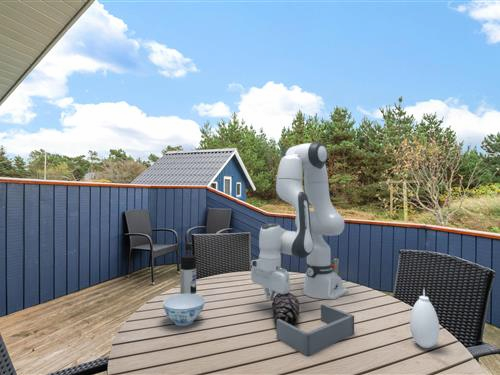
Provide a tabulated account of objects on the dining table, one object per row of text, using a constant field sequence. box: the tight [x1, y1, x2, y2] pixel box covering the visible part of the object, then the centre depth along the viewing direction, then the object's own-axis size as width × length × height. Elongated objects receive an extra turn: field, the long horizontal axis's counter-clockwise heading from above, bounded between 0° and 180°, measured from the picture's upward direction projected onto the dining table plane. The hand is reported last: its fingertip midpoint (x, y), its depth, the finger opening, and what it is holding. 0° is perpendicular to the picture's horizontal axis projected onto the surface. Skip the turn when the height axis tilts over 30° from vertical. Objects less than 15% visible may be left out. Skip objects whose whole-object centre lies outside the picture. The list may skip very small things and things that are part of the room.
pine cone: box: [271, 291, 300, 328], centre depth 107 cm, size 10×18×10 cm, turn 179°
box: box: [276, 303, 355, 357], centre depth 97 cm, size 23×13×6 cm, turn 127°
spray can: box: [179, 254, 197, 294], centre depth 125 cm, size 7×7×20 cm
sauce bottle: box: [409, 288, 440, 349], centre depth 91 cm, size 8×8×18 cm
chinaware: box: [162, 293, 206, 327], centre depth 107 cm, size 15×15×8 cm
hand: (269, 299), depth 116 cm, fingers closed
